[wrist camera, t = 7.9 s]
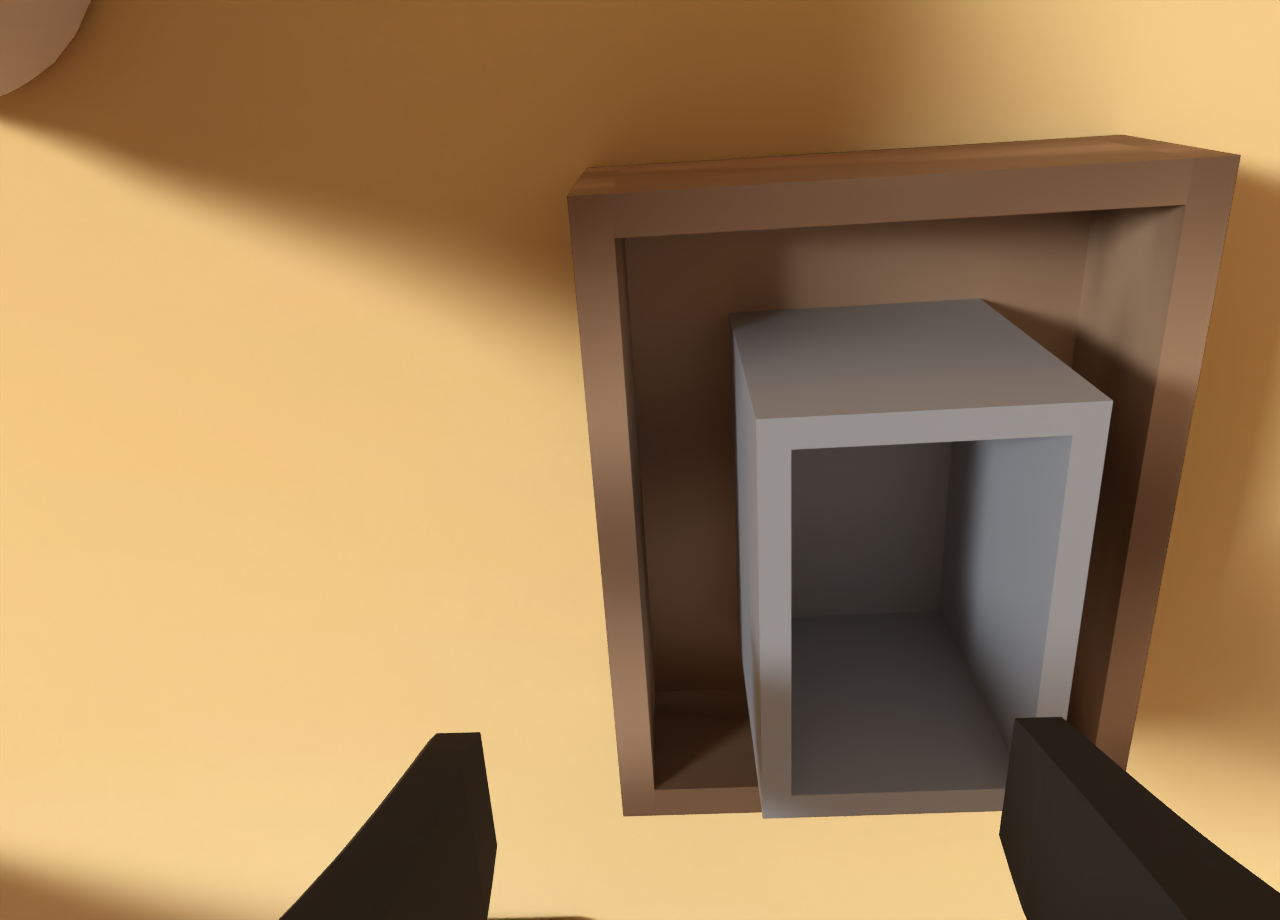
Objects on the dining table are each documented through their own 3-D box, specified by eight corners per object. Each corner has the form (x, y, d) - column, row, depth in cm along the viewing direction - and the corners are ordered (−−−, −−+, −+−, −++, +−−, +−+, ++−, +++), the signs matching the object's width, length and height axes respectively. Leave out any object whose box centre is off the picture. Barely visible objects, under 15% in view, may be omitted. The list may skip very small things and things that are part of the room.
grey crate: (953, 616, 22) (1053, 809, 16) (737, 625, 22) (762, 819, 16) (980, 298, 19) (1112, 400, 13) (728, 312, 19) (756, 419, 13)
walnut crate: (1047, 682, 23) (1119, 801, 19) (629, 697, 24) (623, 816, 20) (1122, 134, 18) (1240, 155, 14) (586, 168, 18) (566, 196, 15)
